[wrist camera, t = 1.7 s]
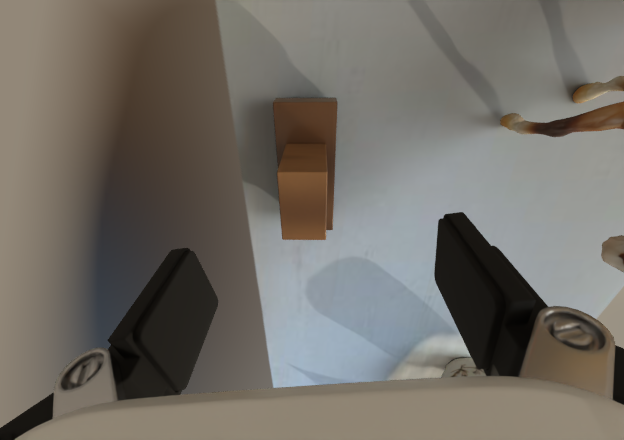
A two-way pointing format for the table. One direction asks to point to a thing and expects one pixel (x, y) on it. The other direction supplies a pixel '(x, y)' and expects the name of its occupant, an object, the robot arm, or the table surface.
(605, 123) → the horse figurine
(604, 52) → the table surface
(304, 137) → the brown stepped block
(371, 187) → the table surface
